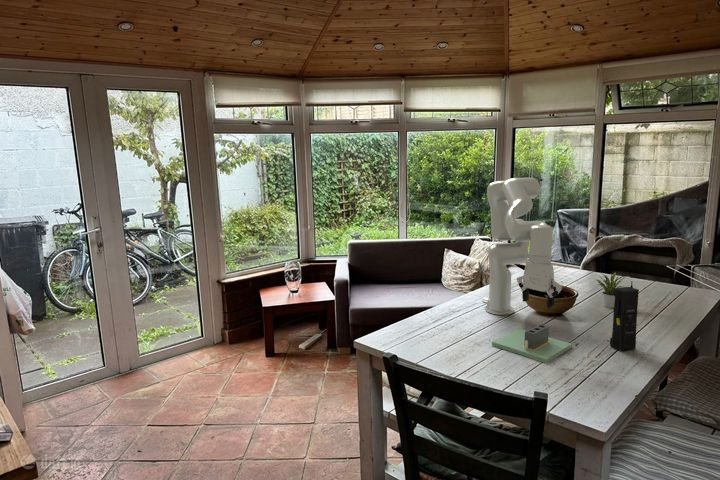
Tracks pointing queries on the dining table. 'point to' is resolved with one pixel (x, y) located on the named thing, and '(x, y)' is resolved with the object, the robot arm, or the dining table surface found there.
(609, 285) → the house plant
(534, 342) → the block
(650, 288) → the dining table surface
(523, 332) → the header board
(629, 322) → the portable radio
